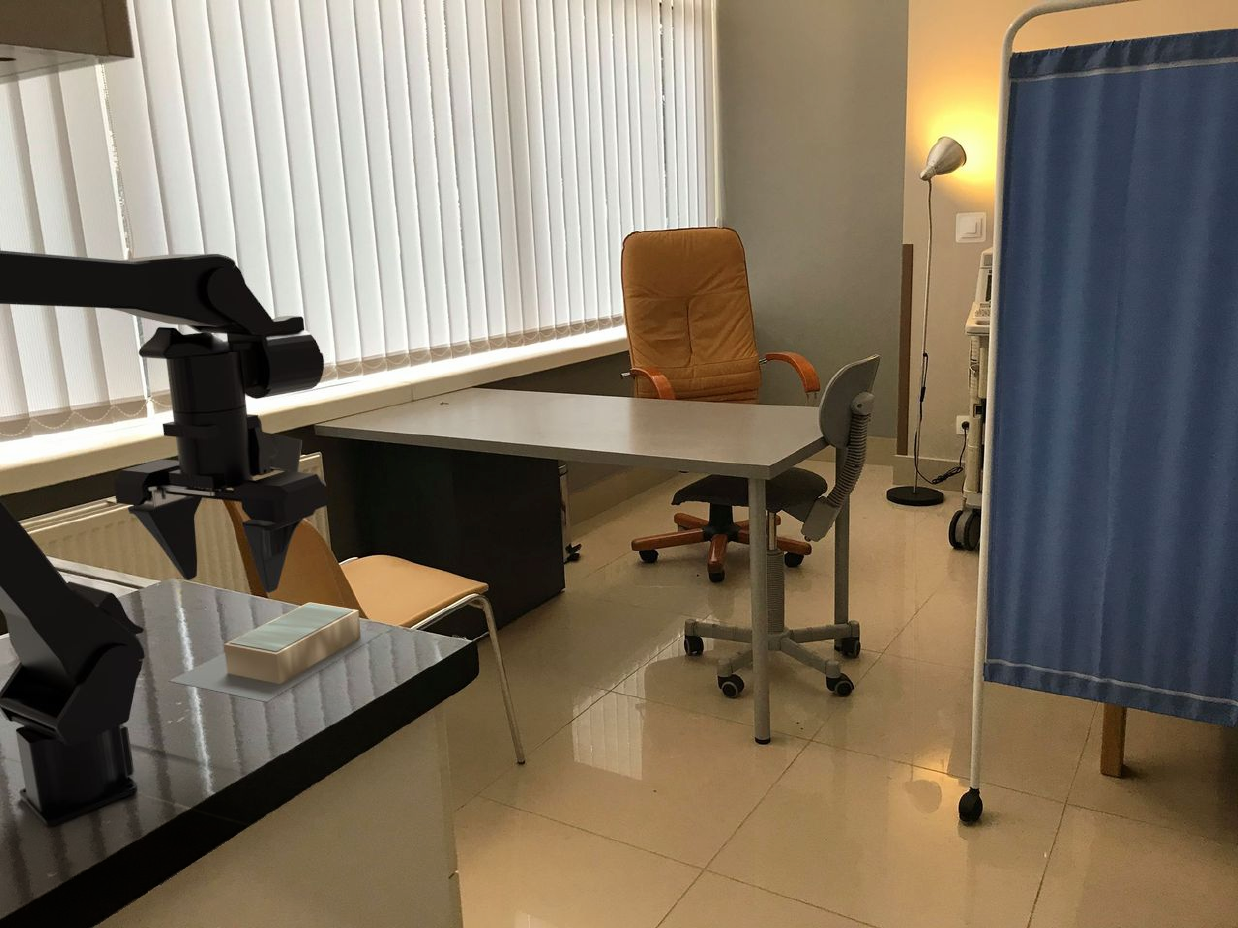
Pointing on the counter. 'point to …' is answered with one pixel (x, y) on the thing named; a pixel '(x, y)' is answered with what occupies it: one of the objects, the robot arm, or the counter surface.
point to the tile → (292, 642)
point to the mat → (219, 680)
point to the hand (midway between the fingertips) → (230, 584)
